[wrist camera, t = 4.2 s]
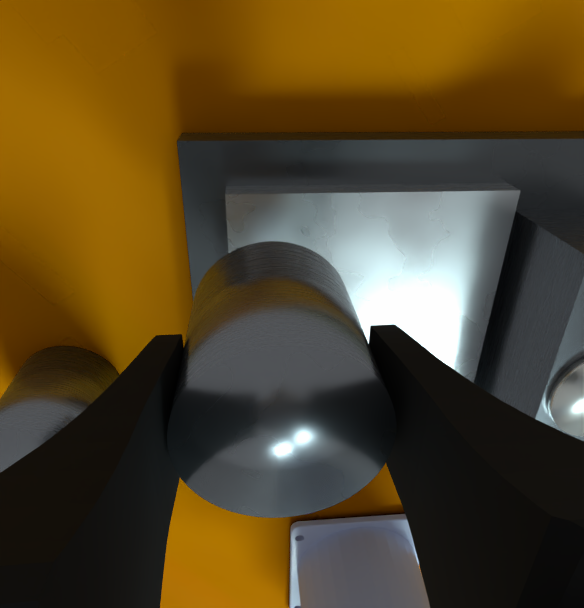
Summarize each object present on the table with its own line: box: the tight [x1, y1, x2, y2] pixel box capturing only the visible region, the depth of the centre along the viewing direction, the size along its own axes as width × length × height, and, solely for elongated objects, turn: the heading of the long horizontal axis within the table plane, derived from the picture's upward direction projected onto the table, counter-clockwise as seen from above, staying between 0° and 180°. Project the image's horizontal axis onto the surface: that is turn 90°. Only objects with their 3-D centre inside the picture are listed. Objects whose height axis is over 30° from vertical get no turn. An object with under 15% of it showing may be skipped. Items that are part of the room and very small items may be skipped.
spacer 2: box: [167, 241, 397, 518], centre depth 12 cm, size 4×4×5 cm
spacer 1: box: [0, 346, 119, 473], centre depth 20 cm, size 4×4×5 cm
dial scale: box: [177, 131, 584, 441], centre depth 18 cm, size 15×16×6 cm
